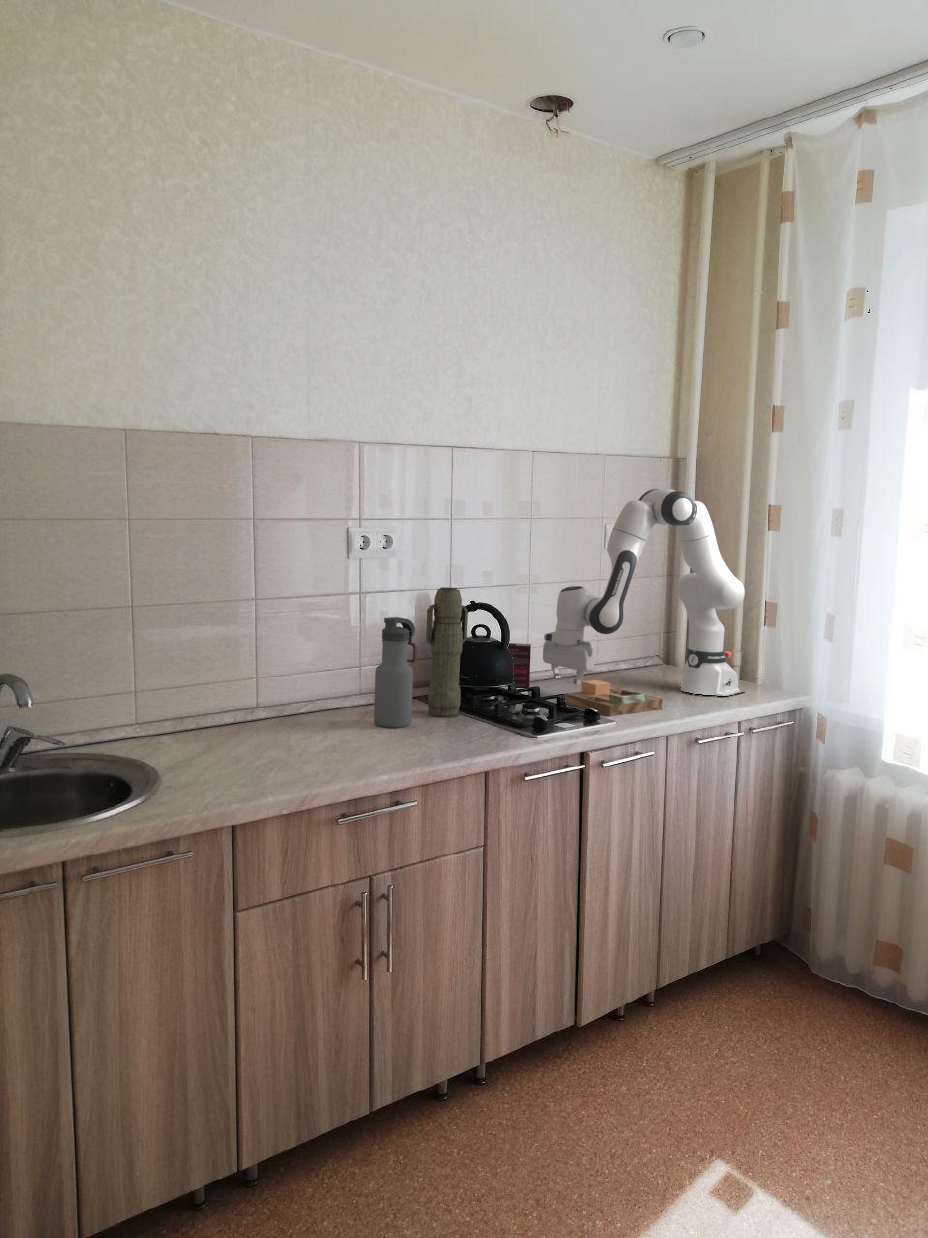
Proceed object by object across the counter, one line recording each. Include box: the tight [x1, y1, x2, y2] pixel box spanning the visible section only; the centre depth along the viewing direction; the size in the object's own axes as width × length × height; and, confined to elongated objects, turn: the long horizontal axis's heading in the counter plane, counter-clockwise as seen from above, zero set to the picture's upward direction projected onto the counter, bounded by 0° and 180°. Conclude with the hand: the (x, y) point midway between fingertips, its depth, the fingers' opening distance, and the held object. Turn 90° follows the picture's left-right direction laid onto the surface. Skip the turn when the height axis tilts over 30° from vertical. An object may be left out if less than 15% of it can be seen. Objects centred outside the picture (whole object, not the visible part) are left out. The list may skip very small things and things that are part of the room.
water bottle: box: [373, 616, 418, 729], centre depth 240 cm, size 10×10×28 cm
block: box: [580, 679, 611, 695], centre depth 280 cm, size 6×6×3 cm
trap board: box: [563, 687, 663, 717], centre depth 276 cm, size 22×19×5 cm
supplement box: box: [508, 642, 532, 689], centre depth 287 cm, size 9×5×16 cm, turn 84°
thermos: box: [425, 586, 469, 719], centre depth 254 cm, size 9×12×35 cm
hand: (566, 681), depth 291 cm, fingers open, 8 cm apart
